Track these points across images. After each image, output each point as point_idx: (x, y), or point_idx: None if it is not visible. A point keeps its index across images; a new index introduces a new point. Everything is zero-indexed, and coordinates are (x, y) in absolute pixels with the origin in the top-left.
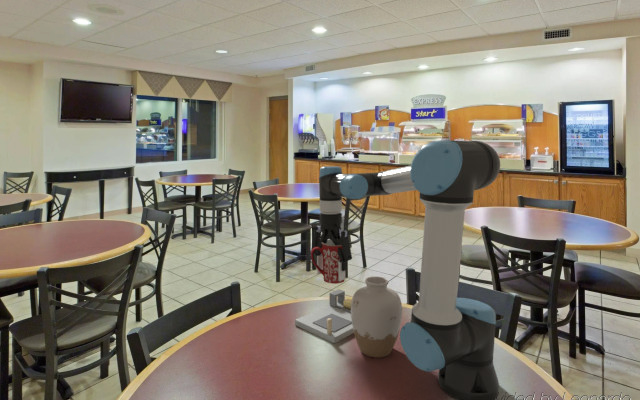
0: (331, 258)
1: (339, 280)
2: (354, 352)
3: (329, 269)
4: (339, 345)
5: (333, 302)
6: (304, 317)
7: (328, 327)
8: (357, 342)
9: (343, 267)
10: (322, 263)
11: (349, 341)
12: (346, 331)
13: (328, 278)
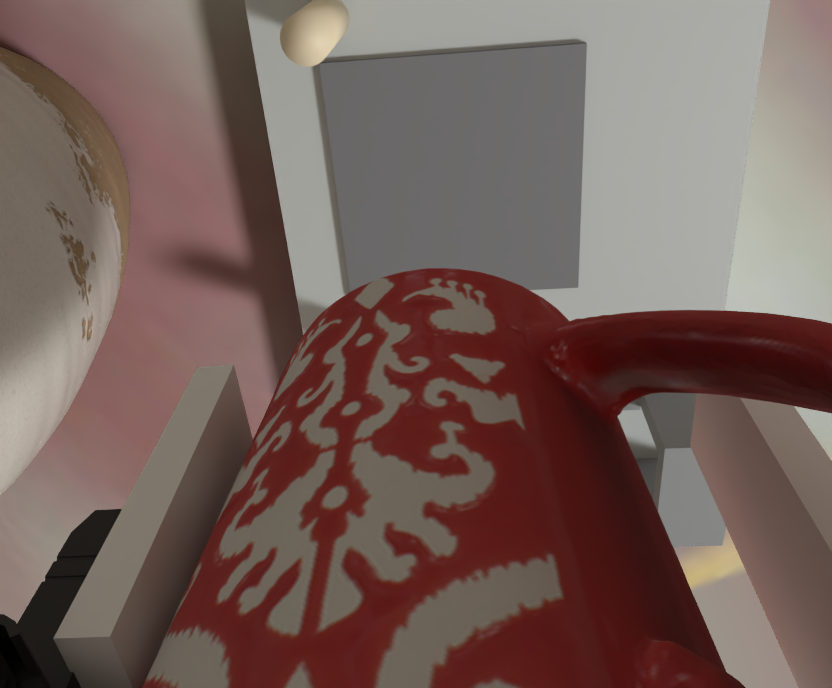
0: (230, 628)
1: (212, 368)
2: (57, 17)
3: (347, 403)
4: (207, 3)
5: (667, 402)
6: (730, 63)
7: (307, 4)
8: (11, 52)
9: (69, 567)
10: (751, 547)
11: (214, 113)
12: (272, 159)
13: (394, 303)
